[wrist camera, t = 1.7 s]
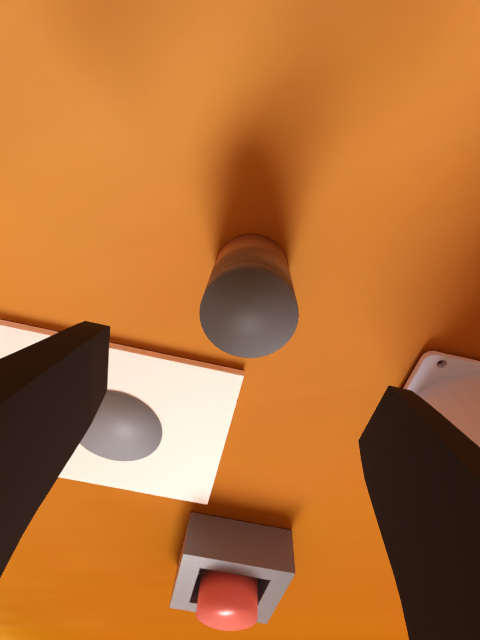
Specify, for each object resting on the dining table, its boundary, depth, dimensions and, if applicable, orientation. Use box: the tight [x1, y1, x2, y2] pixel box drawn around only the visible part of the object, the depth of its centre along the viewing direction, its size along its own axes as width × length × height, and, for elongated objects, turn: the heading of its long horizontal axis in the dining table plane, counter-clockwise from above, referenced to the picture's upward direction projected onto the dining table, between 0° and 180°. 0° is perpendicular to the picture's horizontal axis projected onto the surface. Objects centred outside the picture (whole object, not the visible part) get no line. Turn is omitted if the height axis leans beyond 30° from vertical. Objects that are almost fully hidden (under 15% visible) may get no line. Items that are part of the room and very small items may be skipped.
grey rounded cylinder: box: [200, 234, 299, 358], centre depth 15 cm, size 4×4×5 cm
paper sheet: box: [0, 319, 244, 505], centre depth 22 cm, size 14×12×1 cm
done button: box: [196, 569, 258, 631], centre depth 25 cm, size 4×4×2 cm
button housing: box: [169, 512, 295, 624], centre depth 27 cm, size 8×8×3 cm
